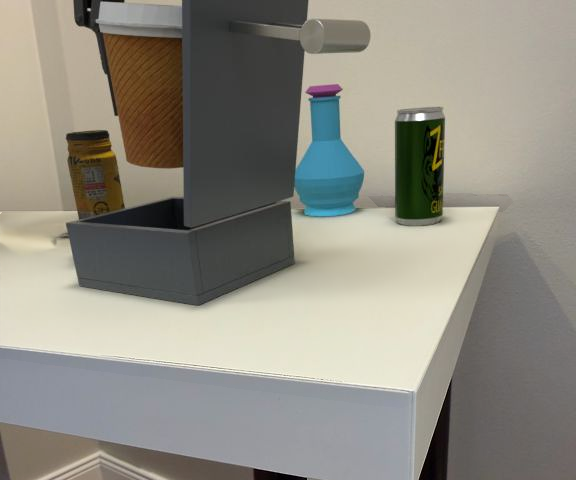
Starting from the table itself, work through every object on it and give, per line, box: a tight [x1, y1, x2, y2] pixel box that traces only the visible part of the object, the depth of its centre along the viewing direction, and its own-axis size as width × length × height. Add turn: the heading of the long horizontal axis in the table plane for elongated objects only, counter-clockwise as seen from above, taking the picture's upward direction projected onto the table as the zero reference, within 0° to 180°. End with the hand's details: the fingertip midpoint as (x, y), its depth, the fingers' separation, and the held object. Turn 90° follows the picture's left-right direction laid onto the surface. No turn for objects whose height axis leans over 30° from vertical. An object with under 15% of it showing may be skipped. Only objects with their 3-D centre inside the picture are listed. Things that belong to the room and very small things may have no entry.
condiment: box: [59, 129, 126, 237], centre depth 83 cm, size 7×8×12 cm
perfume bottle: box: [294, 83, 365, 217], centre depth 82 cm, size 9×9×15 cm
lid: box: [181, 0, 371, 228], centre depth 49 cm, size 16×14×9 cm
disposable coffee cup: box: [96, 2, 183, 170], centre depth 55 cm, size 10×10×12 cm
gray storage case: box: [65, 196, 296, 306], centre depth 60 cm, size 15×14×6 cm
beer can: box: [394, 106, 446, 227], centre depth 73 cm, size 5×5×12 cm
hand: (169, 110), depth 55 cm, fingers closed on disposable coffee cup, 9 cm apart
